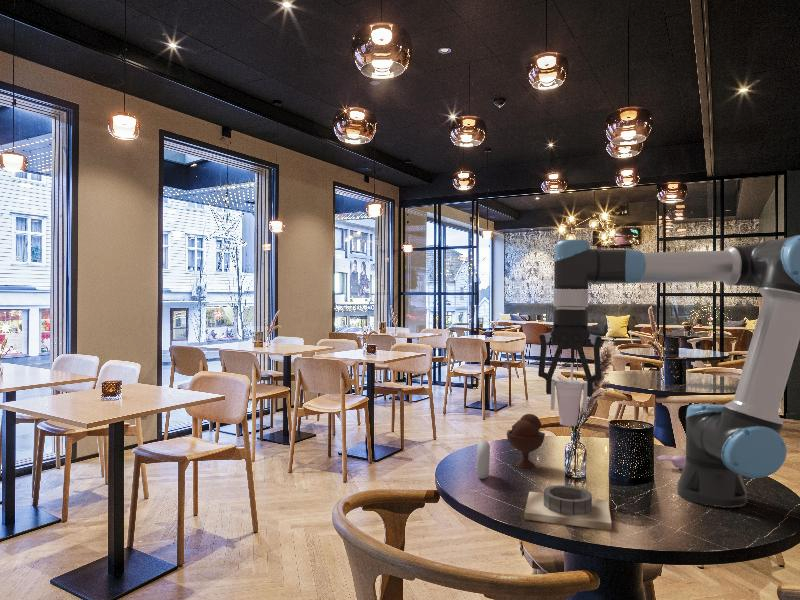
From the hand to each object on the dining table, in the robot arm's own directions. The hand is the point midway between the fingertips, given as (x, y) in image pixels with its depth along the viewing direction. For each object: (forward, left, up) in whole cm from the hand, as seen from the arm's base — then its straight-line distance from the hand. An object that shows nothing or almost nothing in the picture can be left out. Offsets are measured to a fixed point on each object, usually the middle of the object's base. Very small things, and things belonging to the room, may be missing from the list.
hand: (568, 409), depth 129 cm
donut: (+22, -18, -24) cm, 37 cm away
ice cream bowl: (+12, -33, -24) cm, 42 cm away
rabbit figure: (-32, -45, -24) cm, 60 cm away
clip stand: (0, 0, -24) cm, 24 cm away
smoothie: (0, 0, -4) cm, 4 cm away
